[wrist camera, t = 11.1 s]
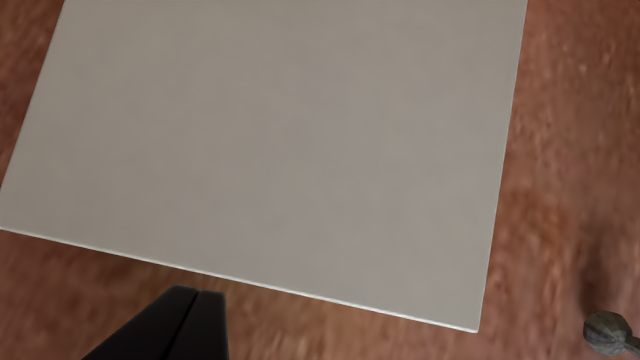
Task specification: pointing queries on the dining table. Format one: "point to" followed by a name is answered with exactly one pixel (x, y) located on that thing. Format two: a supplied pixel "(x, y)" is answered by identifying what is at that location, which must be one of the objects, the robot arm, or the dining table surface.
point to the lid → (278, 144)
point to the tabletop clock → (610, 334)
